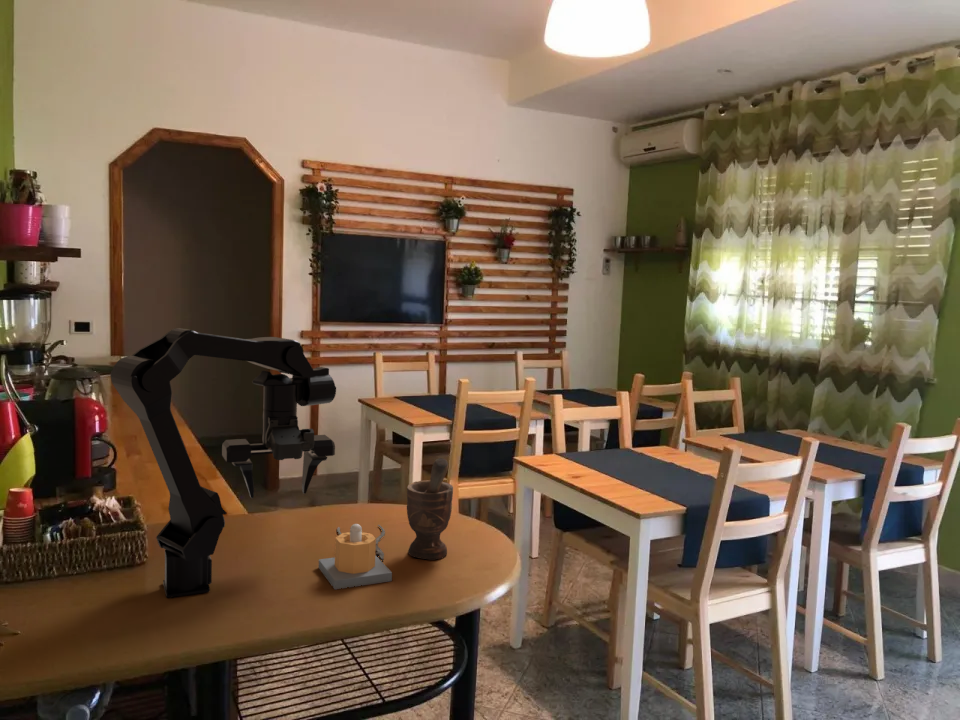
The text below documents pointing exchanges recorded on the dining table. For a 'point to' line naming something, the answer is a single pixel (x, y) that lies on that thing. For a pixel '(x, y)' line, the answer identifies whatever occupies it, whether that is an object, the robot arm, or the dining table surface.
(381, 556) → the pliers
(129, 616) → the dining table surface
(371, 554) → the collar
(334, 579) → the pin base
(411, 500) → the mortar and pestle
